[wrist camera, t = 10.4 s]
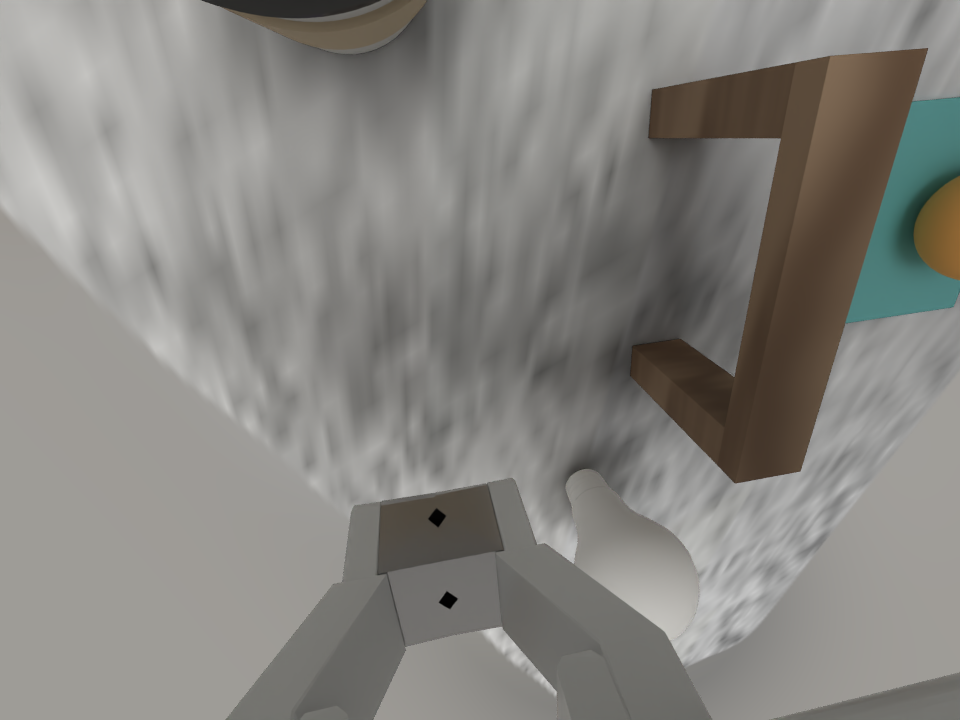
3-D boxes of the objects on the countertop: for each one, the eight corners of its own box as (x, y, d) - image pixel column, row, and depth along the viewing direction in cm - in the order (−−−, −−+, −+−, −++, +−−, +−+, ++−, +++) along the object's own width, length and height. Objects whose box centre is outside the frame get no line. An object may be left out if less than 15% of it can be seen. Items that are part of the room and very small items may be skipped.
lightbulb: (615, 506, 32) (709, 665, 23) (532, 515, 31) (592, 685, 22) (629, 435, 30) (743, 580, 20) (538, 442, 29) (611, 599, 19)
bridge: (713, 84, 21) (928, 48, 13) (676, 368, 28) (800, 471, 19) (652, 89, 21) (830, 56, 12) (630, 375, 28) (735, 483, 19)
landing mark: (1037, 90, 24) (1042, 89, 24) (949, 306, 29) (953, 307, 29) (830, 109, 23) (834, 109, 22) (778, 331, 28) (781, 332, 28)
